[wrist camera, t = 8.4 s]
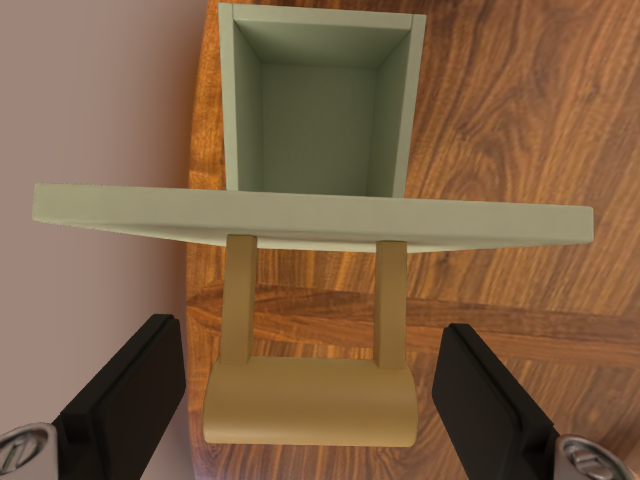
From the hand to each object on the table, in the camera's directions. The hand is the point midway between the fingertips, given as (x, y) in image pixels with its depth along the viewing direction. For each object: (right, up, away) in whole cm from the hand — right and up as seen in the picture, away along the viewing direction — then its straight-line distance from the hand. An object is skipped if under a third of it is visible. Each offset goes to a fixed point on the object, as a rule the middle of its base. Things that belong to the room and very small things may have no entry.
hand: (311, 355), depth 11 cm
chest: (0, +14, +19) cm, 23 cm away
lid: (0, +4, +3) cm, 5 cm away
